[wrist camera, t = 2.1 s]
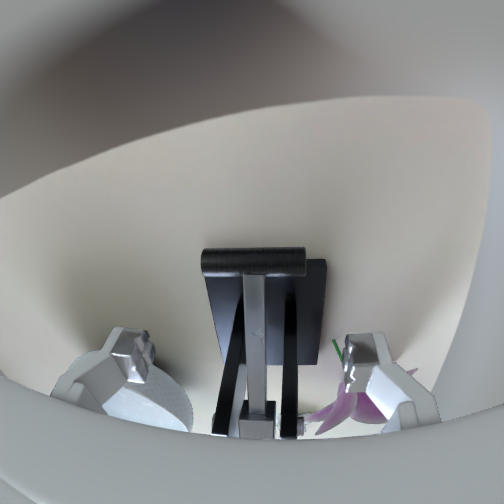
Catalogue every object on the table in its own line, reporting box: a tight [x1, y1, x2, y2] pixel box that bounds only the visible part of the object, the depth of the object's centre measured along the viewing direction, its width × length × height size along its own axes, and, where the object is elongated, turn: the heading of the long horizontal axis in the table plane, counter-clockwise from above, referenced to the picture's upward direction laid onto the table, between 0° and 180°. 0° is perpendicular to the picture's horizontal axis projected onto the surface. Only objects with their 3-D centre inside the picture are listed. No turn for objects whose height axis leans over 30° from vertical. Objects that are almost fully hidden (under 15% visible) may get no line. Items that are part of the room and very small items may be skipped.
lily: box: [304, 339, 418, 435], centre depth 26 cm, size 12×12×10 cm
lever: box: [201, 247, 306, 439], centre depth 17 cm, size 13×6×2 cm, turn 5°
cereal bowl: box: [67, 350, 193, 432], centre depth 32 cm, size 17×17×7 cm
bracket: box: [204, 259, 327, 440], centre depth 21 cm, size 12×10×13 cm
